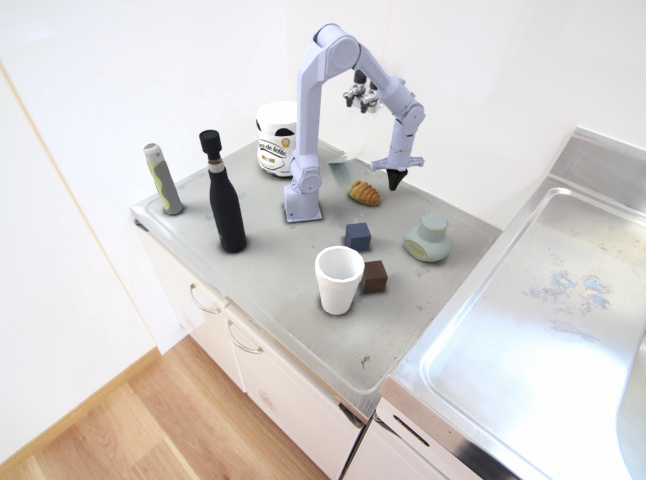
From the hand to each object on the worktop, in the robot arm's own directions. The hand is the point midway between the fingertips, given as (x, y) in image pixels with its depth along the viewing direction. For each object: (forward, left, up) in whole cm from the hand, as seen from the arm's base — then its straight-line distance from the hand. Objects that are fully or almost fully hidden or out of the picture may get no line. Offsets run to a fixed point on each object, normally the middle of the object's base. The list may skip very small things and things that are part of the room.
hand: (391, 189), depth 100 cm
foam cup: (-24, -36, -2) cm, 43 cm away
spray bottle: (-63, +3, -2) cm, 63 cm away
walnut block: (-15, -32, -2) cm, 35 cm away
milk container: (-29, +20, -2) cm, 35 cm away
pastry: (-8, 0, -2) cm, 8 cm away
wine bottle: (-46, -14, -2) cm, 48 cm away
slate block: (-15, -19, -2) cm, 24 cm away
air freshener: (+1, -24, -2) cm, 24 cm away
